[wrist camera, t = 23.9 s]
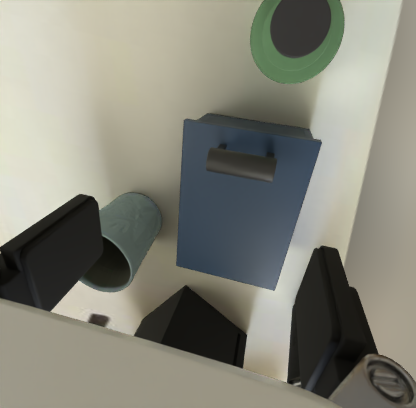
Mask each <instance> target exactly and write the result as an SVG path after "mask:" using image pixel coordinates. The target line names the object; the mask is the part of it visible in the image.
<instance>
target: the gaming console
mask: <svg viewBox="0 0 416 408" xmlns="http://www.w3.org/2000/svg"><path fill="white" fill-rule="evenodd" d="M134 336H135V337H138V338H142V339H145V340H149V341H152V342H155V343H159V344H162V345H166V346H169V347H172V348H176V349H179V350H182V351H186V352H189V353H192V354H196V355H199V356H202V357H206V358H209V359H212V360H216V361H219V362H222V363H226V364H229V365H232V366H236V367H239V368H242V369H243V362H244V354H245V347H246V339H247V334H245V333H244V332H243V331H242V330H240V329H239V328H238V327H237V326H235V325H234V324H233V323H232V322H230V321H229V320H228V319H227V318H226V317H224V316H223V315H222V314H221V313H219V312H218V311H217V310H216V309H214V308H213V307H212V306H211V305H209V304H208V303H207V302H206V301H205V300H203V299H202V298H201V297H200V296H198V295H197V294H196V293H195V292H193V291H192V290H191V289H190V288H189V287H187V286H184V287H183V288H182V289H180V290H179V291H178V292H177V293H175V294H174V295H173V296H172V297H170V298H169V299H168V300H167V301H165V302H164V303H163V304H162V305H160V306H159V307H158V308H156V309H155V310H154V311H153V312H151V313H150V314H149V315H148V316H146V317H145V318H144V319H143V320H142V322H141V324H140V326H139V328H138V329H137V331H136V333H135V335H134Z"/></svg>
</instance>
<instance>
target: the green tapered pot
mask: <svg viewBox="0 0 416 408" xmlns="http://www.w3.org/2000/svg"><path fill="white" fill-rule="evenodd" d="M99 215H100V224H101V232H102V240H103V253H102V255H101V256H100V257H99V259H98V260H97V261H96V262H95V263H94V264H93V265H92V266H91V267H90V268H89V270H88V271H87V272H86V273H85V274H84V275H83V276H82V277H81V278H80V279H79V281H81V282H82V283H84V284H85V285H87V286H89V287H91V288H93V289H96V290H98V291H102V292H118V291H121V290H123V289H125V288H126V287H128V286H129V285H130V283H131V282H132V280H133V278H134V276H135V274H136V272H137V270H138V268H139V266H140V264H141V262H142V260H143V259H144V258H145V255H146V254H147V251H148V250H149V248H150V246H151V245H152V243H153V241H154V238H155V237H156V235H157V234H158V232H159V230H160V228H161V224H162V218H161V214H160V211H159V209H158V207H157V206H156V204H155V203H154V202H153V201H152V200H150V199H149V198H148V197H145V196H144V195H141V194H138V193H126V194H123V195H121V196H119V197H118V198H116V199H115V200H114V201H112V202H111V203H110V204H109V205H107V206H105V207H104V208H102V209H101V210H99Z"/></svg>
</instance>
